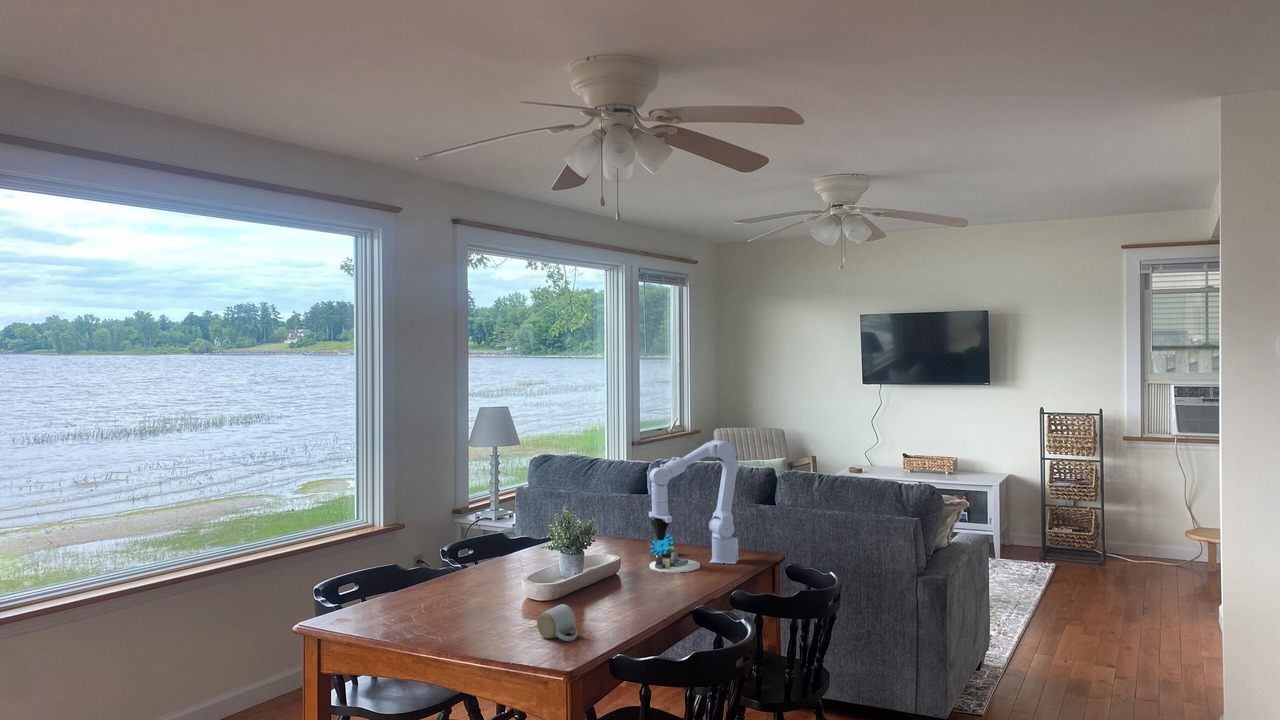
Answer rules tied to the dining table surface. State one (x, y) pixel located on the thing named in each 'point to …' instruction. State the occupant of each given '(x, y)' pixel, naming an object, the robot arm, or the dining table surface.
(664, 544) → the gear
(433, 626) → the dining table surface
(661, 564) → the crank handle
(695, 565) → the base plate
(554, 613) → the ceramic mug
